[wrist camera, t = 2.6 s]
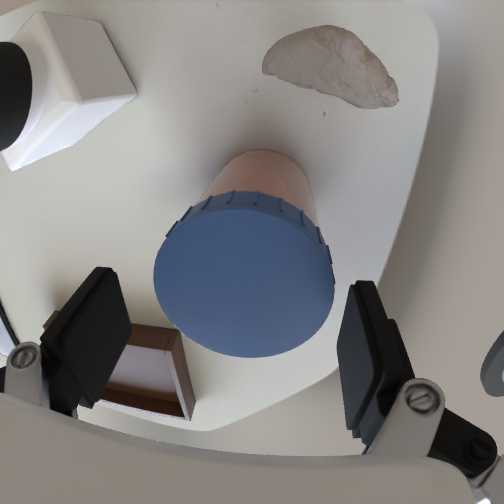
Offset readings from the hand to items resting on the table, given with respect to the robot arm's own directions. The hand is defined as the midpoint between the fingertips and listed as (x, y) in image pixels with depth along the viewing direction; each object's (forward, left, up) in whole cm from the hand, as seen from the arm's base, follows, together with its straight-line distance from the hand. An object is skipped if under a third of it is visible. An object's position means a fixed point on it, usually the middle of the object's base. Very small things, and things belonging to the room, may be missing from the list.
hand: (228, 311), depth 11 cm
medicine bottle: (+13, -9, -12) cm, 20 cm away
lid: (0, 0, -1) cm, 1 cm away
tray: (+15, +19, -12) cm, 27 cm away
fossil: (-4, -9, -12) cm, 15 cm away
